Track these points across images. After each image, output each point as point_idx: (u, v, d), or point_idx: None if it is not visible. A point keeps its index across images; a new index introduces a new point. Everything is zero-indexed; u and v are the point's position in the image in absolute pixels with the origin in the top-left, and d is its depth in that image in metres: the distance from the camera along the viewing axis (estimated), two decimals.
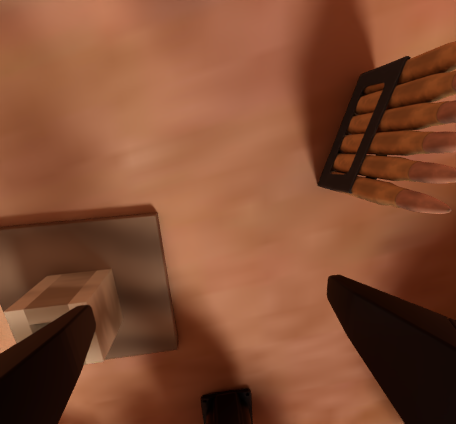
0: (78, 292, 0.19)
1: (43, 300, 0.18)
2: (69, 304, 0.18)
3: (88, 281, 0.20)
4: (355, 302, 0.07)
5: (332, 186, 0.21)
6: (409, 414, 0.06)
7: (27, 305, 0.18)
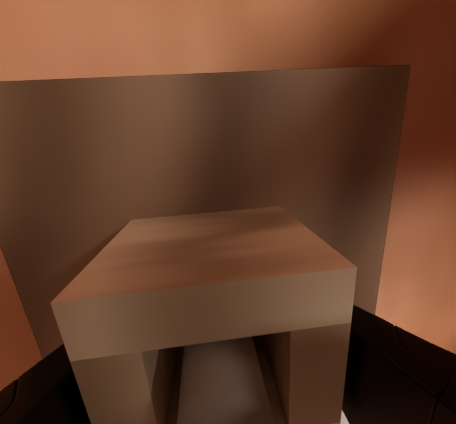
0: None
1: None
2: (70, 356, 0.05)
3: None
4: None
5: None
6: (357, 423, 0.06)
7: None
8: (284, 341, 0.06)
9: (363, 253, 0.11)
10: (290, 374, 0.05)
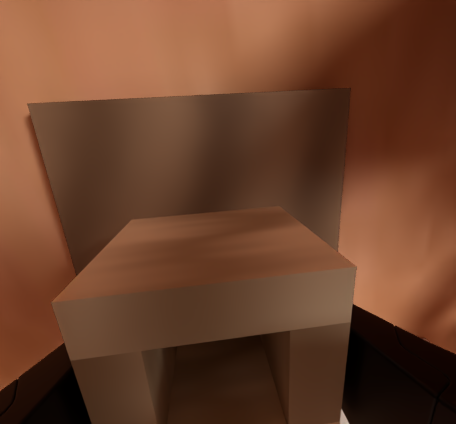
0: None
1: None
2: (71, 355, 0.05)
3: None
4: None
5: None
6: (357, 423, 0.06)
7: None
8: (284, 340, 0.06)
9: (324, 225, 0.14)
10: (290, 373, 0.05)
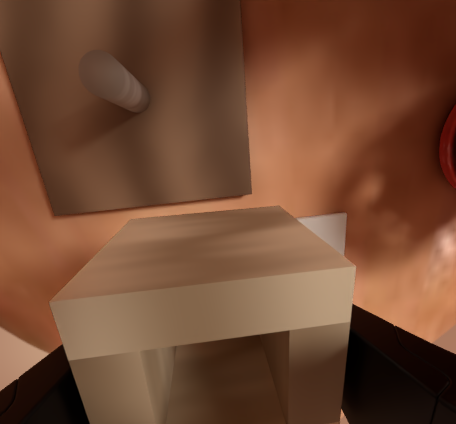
0: None
1: None
2: (69, 355, 0.05)
3: None
4: None
5: None
6: (357, 422, 0.06)
7: None
8: (283, 340, 0.05)
9: (231, 84, 0.17)
10: (289, 373, 0.05)
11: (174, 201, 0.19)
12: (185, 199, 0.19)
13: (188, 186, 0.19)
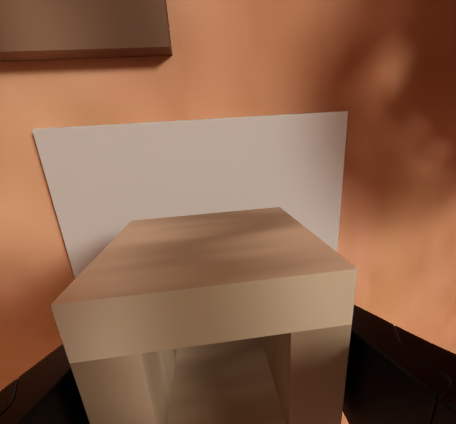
0: None
1: None
2: (70, 358, 0.05)
3: None
4: None
5: None
6: (358, 423, 0.06)
7: None
8: (284, 342, 0.05)
9: None
10: (291, 376, 0.05)
11: (11, 48, 0.10)
12: (34, 46, 0.10)
13: (37, 15, 0.09)
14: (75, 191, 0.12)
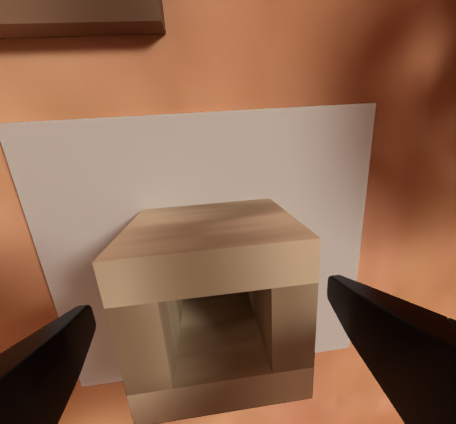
0: None
1: None
2: (105, 304, 0.06)
3: None
4: (355, 302, 0.07)
5: None
6: (408, 414, 0.06)
7: None
8: (268, 299, 0.07)
9: None
10: (272, 324, 0.07)
11: None
12: None
13: None
14: (50, 199, 0.10)
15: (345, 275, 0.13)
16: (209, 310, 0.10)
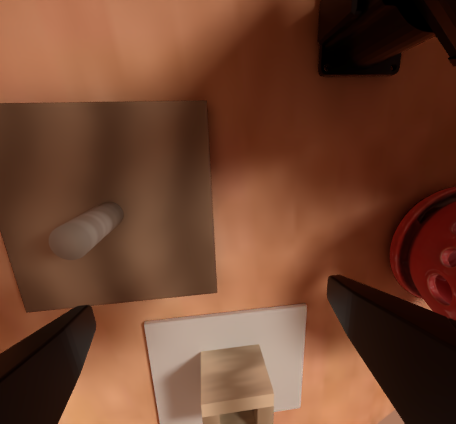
0: None
1: None
2: (202, 416, 0.18)
3: None
4: (355, 302, 0.07)
5: None
6: (408, 414, 0.06)
7: None
8: (256, 409, 0.20)
9: (199, 204, 0.18)
10: (257, 419, 0.19)
11: (143, 299, 0.20)
12: (154, 297, 0.20)
13: (157, 286, 0.20)
14: (161, 349, 0.22)
15: (296, 374, 0.25)
16: None
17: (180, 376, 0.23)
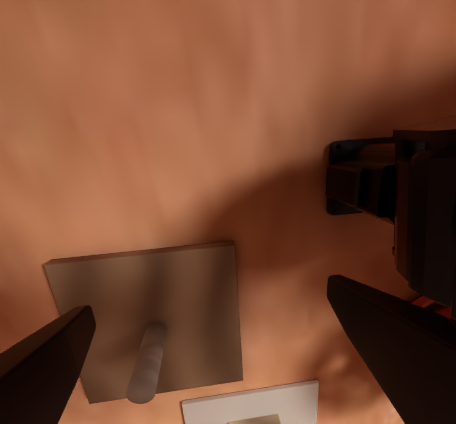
0: None
1: None
2: None
3: None
4: (355, 302, 0.07)
5: None
6: (408, 414, 0.06)
7: None
8: None
9: (229, 317, 0.22)
10: None
11: (182, 389, 0.24)
12: (191, 387, 0.24)
13: (194, 378, 0.24)
14: (195, 422, 0.27)
15: None
16: None
17: None
